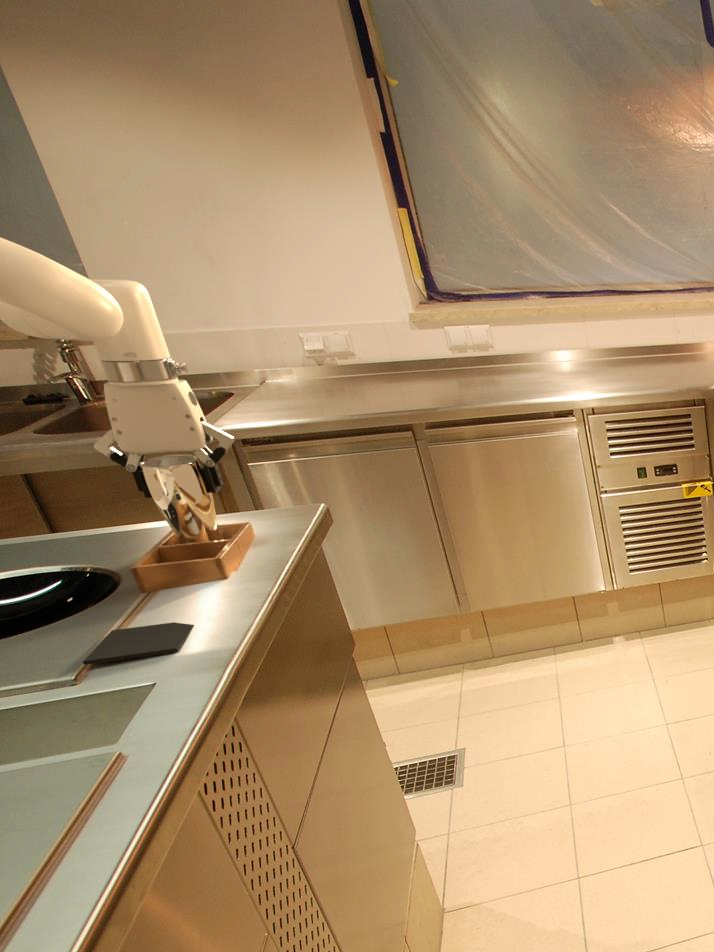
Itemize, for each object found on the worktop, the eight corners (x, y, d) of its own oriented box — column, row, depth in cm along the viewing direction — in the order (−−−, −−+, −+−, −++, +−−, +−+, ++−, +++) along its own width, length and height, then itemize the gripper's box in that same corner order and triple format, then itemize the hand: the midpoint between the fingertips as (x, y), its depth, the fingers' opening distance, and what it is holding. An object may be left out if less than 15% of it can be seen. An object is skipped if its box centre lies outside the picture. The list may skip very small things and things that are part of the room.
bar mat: (83, 665, 102) (82, 661, 102) (113, 633, 110) (111, 630, 110) (178, 651, 106) (176, 648, 105) (200, 622, 114) (198, 619, 113)
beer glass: (165, 558, 130) (124, 464, 122) (210, 542, 136) (174, 451, 128) (201, 565, 128) (162, 470, 121) (245, 548, 134) (211, 457, 127)
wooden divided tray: (143, 600, 120) (129, 568, 118) (183, 558, 135) (171, 529, 133) (232, 590, 124) (220, 558, 122) (260, 550, 140) (250, 521, 137)
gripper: (223, 368, 127) (260, 483, 135) (71, 371, 120) (118, 492, 127) (210, 373, 121) (249, 494, 129) (48, 377, 114) (100, 504, 121)
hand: (184, 492), depth 128 cm, fingers closed on beer glass, 7 cm apart
